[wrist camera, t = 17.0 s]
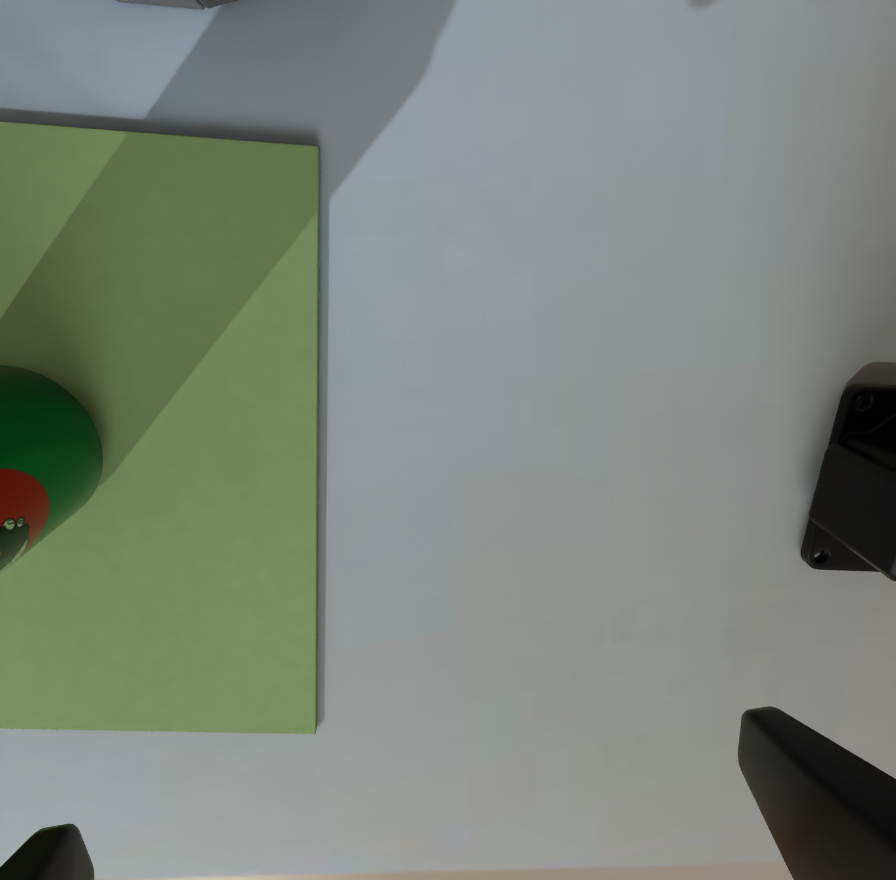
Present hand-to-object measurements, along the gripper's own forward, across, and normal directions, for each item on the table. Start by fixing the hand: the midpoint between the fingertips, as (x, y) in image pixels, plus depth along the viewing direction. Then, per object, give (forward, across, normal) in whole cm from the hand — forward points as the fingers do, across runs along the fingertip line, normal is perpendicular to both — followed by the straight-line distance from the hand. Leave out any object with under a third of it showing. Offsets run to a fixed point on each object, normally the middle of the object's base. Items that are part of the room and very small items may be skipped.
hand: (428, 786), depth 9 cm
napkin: (+14, +12, 0) cm, 19 cm away
